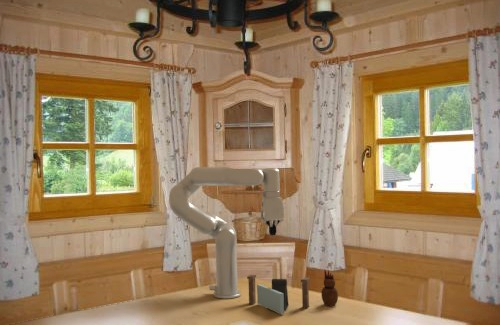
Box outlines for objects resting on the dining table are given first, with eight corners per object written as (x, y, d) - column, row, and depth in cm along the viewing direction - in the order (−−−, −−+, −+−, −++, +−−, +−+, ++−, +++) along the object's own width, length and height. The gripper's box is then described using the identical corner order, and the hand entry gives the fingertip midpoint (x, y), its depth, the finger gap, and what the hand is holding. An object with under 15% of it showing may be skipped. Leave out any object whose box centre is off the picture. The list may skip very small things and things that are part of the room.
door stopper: (285, 311, 212) (284, 282, 212) (270, 310, 213) (270, 281, 213) (288, 305, 221) (287, 277, 220) (274, 304, 222) (274, 276, 222)
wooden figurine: (319, 305, 220) (318, 269, 219) (327, 302, 224) (326, 267, 224) (332, 307, 215) (331, 271, 215) (340, 304, 219) (339, 269, 219)
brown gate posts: (247, 304, 223) (247, 276, 223) (250, 302, 227) (250, 274, 227) (308, 308, 214) (307, 279, 214) (310, 306, 218) (309, 277, 218)
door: (257, 303, 222) (257, 284, 222) (262, 302, 224) (262, 283, 224) (280, 314, 206) (280, 293, 206) (286, 312, 207) (286, 292, 207)
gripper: (260, 196, 233) (261, 237, 233) (290, 194, 239) (290, 234, 239) (253, 195, 240) (254, 235, 240) (282, 193, 246) (283, 232, 246)
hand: (272, 234), depth 240 cm, fingers closed
